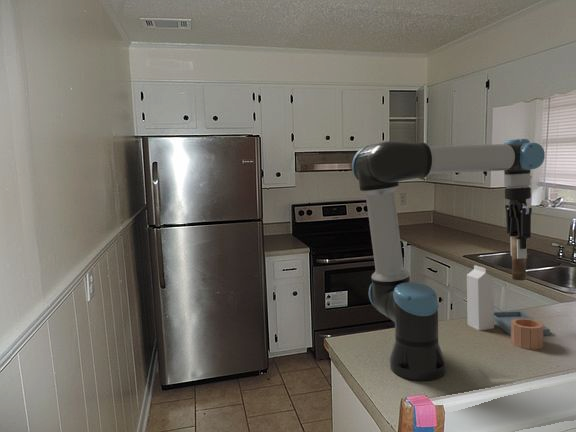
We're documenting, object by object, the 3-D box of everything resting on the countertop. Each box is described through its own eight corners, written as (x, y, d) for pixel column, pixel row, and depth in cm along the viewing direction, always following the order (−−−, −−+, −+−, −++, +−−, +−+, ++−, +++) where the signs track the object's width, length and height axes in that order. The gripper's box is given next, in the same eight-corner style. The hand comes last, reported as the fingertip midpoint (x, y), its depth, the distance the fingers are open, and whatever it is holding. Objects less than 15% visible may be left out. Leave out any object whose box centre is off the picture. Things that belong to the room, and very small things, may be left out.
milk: (482, 325, 144) (481, 264, 142) (494, 331, 138) (494, 267, 136) (467, 327, 142) (466, 265, 140) (478, 333, 136) (478, 269, 134)
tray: (511, 338, 131) (510, 330, 130) (487, 319, 149) (487, 311, 148) (549, 337, 130) (549, 329, 130) (521, 318, 148) (521, 310, 147)
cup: (519, 352, 121) (519, 328, 120) (506, 341, 129) (506, 318, 128) (549, 352, 120) (549, 327, 119) (533, 340, 128) (533, 317, 128)
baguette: (515, 280, 134) (515, 239, 133) (510, 277, 138) (509, 237, 137) (528, 280, 134) (527, 238, 132) (522, 277, 138) (521, 236, 136)
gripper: (543, 187, 124) (544, 261, 127) (517, 185, 141) (518, 251, 143) (517, 188, 125) (518, 263, 127) (494, 186, 142) (496, 252, 144)
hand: (518, 256), depth 135 cm, fingers closed on baguette, 4 cm apart
